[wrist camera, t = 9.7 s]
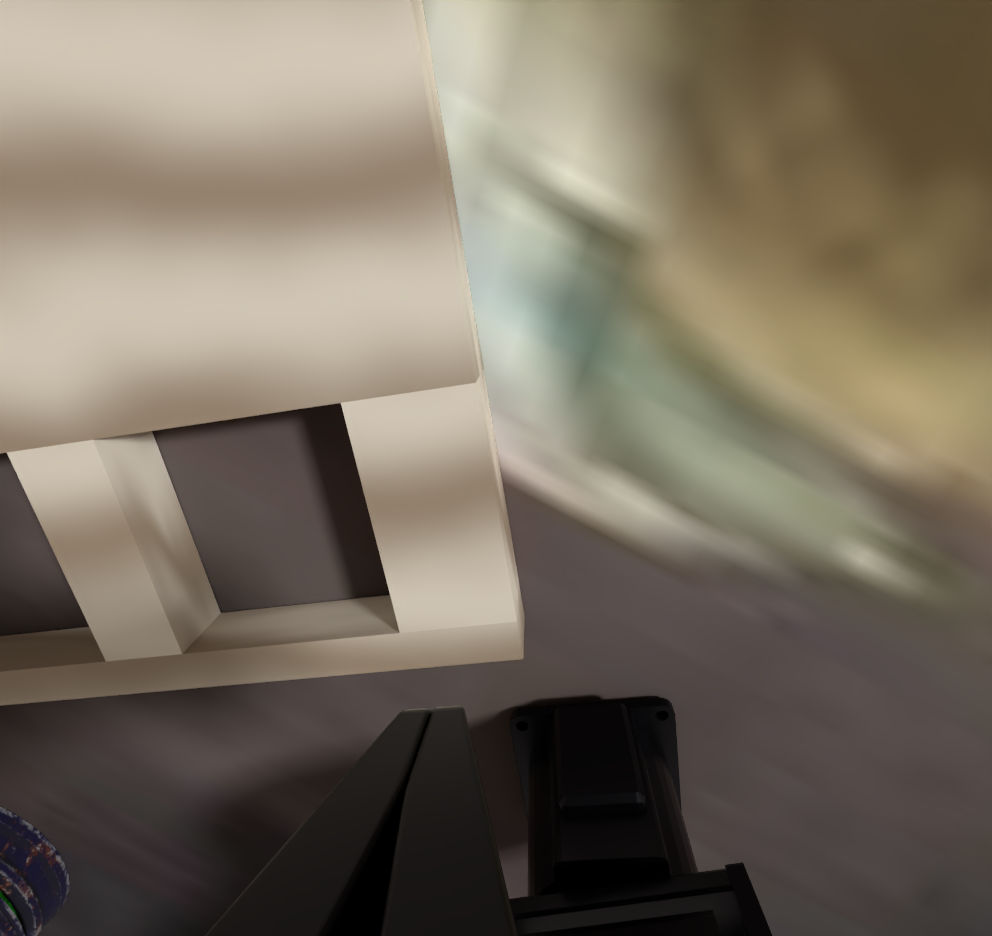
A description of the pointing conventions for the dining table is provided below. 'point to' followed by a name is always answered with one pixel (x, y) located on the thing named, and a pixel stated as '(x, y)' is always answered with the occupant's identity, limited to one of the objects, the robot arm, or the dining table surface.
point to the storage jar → (28, 878)
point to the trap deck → (238, 328)
